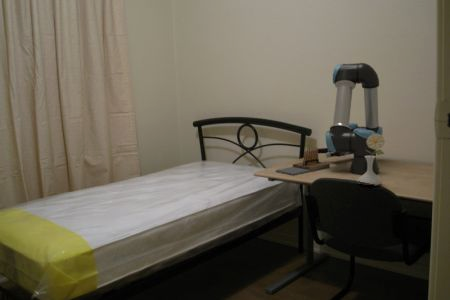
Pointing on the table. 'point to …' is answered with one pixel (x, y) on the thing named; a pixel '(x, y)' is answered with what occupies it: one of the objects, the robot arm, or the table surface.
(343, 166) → the table surface
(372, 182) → the flower in vase
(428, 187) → the table surface
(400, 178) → the table surface
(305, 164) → the ammunition clip
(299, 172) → the slate mat
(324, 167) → the walnut caddy
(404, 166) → the table surface
